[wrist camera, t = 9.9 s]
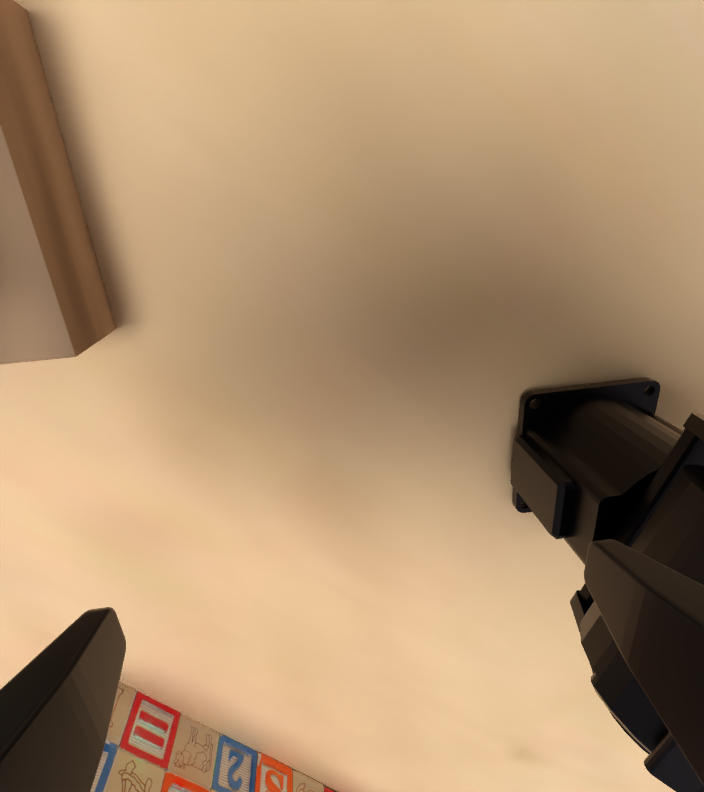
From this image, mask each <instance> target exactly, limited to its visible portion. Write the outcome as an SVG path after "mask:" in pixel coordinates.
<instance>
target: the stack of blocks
mask: <svg viewBox="0 0 704 792" xmlns="http://www.w3.org/2000/svg"><path fill="white" fill-rule="evenodd" d="M90 792H334V791H332V790H330V789H328V788H326V787H324V786H323V784H321V783H319V782H317V781H315V780H313V779H311V778H310V777H308V776H306V775H304V774H302V773H300V772H297V771H295V770H291V768H289V767H288V766H286V765H284V764H282V763H280V762H278V761H276V760H274V759H272V758H270V757H268V756H266V755H264V754H262V753H260V752H259V753H257V752H256V751H255V750H253V749H251V748H249V747H246V746H244V745H242V744H241V743H238V742H236V741H234V740H232V739H230V738H228V737H226V736H225V735H222V734H219V733H218V732H216V731H214V730H212V729H210V728H208V727H206V726H204V725H202V724H200V723H198V722H196V721H194V720H192V719H190V718H188V717H186V716H183V715H181V714H180V713H179V712H178V711H175V710H174V709H172V708H170V707H168V706H166V705H164V704H162V703H160V702H158V701H156V700H154V699H152V698H150V697H148V696H146V695H144V694H142V693H140V692H138V691H136V690H134V689H133V688H131V687H129V686H127V685H125V684H123V683H121V682H119V684H118V689H117V693H116V698H115V702H114V707H113V712H112V716H111V721H110V725H109V730H108V734H107V738H106V742H105V746H104V750H103V753H102V756H101V760H100V763H99V766H98V769H97V773H96V776H95V779H94V782H93V785H92V788H91V791H90Z"/></svg>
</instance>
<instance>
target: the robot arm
mask: <svg viewBox="0 0 704 792" xmlns="http://www.w3.org/2000/svg"><path fill="white" fill-rule="evenodd" d="M647 387H649V388H648V390H647V391H646V392H645V389H646V388H647ZM659 392H660V385H659V383H658V382H656V381H654V380H652V379H650V378H640V379H631V380H622V381H613V382H604V383H595V384H587V385H578V386H569V387H560V388H551V389H542V390H533V391H529V392H527V393H525V394H524V395H523V397H522V398H521V402H520V413H519V426H518V435H517V436H516V438H515V439H514V445H513V457H512V470H511V484H512V486H513V500H512V502H513V505H514V506H515V508H516V509H517V510H518V511H519V512H521V513H526V512H533V513H534V514H535V515H536V517H537V518H538V519H539V521H540V522H541V523H542V524H543V526H544V527H545V528H546V530H547V531H548V532H549V534H550V535H552V536H553V537H554V538H555V539H561V538H564V539H565V541H566V542H567V543H568V544H569V546H570V547H571V548H572V549H573V551H574V552H575V553H576V554H577V556H578V557H579V558H580V559H581V561H582V562H583V563H584V564H585V570H584V579H585V584H584V586H583V587H582V589H581V590H577V591H576V593H575V594H574V596H573V597H572V599H571V600H570V604H571V607H572V610H573V613H574V616H575V619H576V622H577V625H578V628H579V632H580V635H581V643H582V646H583V648H584V650H585V653H586V655H587V657H588V659H589V662H590V665H591V668H592V671H593V675H592V677H591V682H592V684H593V687H594V689H595V691H596V693H597V694H598V695H599V697H600V698H601V700H602V701H603V702H604V704H605V705H606V707H607V708H608V709H609V711H610V713H611V714H612V716H613V717H614V719H615V720H616V721H617V722H618V724H619V725H620V726H621V727H622V729H623V730H624V731H625V732H626V733H627V734H628V735H629V736H630V737H631V738H632V739H633V740H634V741H635V742H636V743H637V744H638V745H639V746H640V747H641V748H642V749H643V750H644V751H645V752H647V753H648V754H649V755H648V756H647V758H646V759H645V760H644V765H645V767H646V769H647V770H648V771H649V772H650V773H651V774H652V775H653V776H654V777H656V778H657V779H659V780H660V781H662V782H663V783H664V784H666V785H667V786H669V787H670V788H672V789H673V790H675V791H676V792H704V416H702V415H699V414H696V413H691V415H690V416H689V418H688V419H687V421H686V422H685V424H684V425H683V426H684V427H685V430H684V431H682V430H680V429H679V428H677V427H675V426H673V425H672V424H670V423H668V422H667V421H665V420H663V419H661V418H660V417H658V416H656V415H655V411H656V406H657V402H658V397H659ZM534 399H536V402H535V404H534V405H531V406H530V402H531V401H532V400H534ZM523 501H525V503H523V504H521V503H522V502H523ZM125 651H126V640H125V636H124V634H123V631H122V628H121V626H120V623H119V620H118V618H117V615H116V612H115V611H114V609H113V608H110V607H106V608H98V609H91V610H88V611H86V612H85V613H84V614H82V615H81V616H80V617H79V618H78V619H77V620H76V621H75V622H74V623H73V624H71V625H70V626H69V627H68V628H67V629H66V630H65V631H64V632H63V633H62V634H61V635H59V636H58V637H57V638H56V639H55V640H54V641H53V642H52V643H51V644H50V645H49V646H47V647H46V648H45V649H44V650H43V651H42V652H41V653H40V654H39V655H38V656H36V657H35V658H34V659H33V660H32V661H31V662H30V663H29V664H28V665H27V666H26V667H24V668H23V669H22V670H21V671H20V672H19V673H18V674H17V675H16V676H15V677H14V678H12V679H11V680H10V681H9V682H8V683H7V684H6V685H5V686H4V687H3V688H2V689H0V792H90V791H91V788H92V785H93V782H94V779H95V776H96V773H97V769H98V766H99V763H100V760H101V756H102V753H103V750H104V746H105V742H106V738H107V734H108V730H109V725H110V721H111V716H112V712H113V707H114V702H115V698H116V693H117V689H118V684H119V679H120V675H121V670H122V666H123V661H124V657H125Z"/></svg>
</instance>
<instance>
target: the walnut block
mask: <svg viewBox="0 0 704 792" xmlns="http://www.w3.org/2000/svg"><path fill="white" fill-rule="evenodd" d="M115 329H116V326H115V323H114V319H113V316H112V312H111V309H110V305H109V301H108V298H107V294H106V291H105V287H104V284H103V280H102V276H101V273H100V269H99V266H98V262H97V259H96V255H95V251H94V248H93V244H92V241H91V237H90V234H89V230H88V227H87V223H86V219H85V216H84V212H83V209H82V205H81V202H80V198H79V194H78V191H77V187H76V184H75V180H74V177H73V173H72V170H71V166H70V162H69V159H68V155H67V152H66V148H65V145H64V141H63V137H62V134H61V130H60V127H59V123H58V120H57V116H56V113H55V109H54V105H53V102H52V98H51V95H50V91H49V88H48V84H47V80H46V77H45V73H44V70H43V66H42V63H41V59H40V55H39V52H38V48H37V45H36V41H35V38H34V34H33V31H32V27H31V23H30V20H29V16H28V13H27V10H26V9H24V8H23V7H21V6H20V5H19V4H17V3H16V2H15V1H13V0H0V364H8V363H18V362H28V361H38V360H48V359H59V358H69V357H76V356H78V355H79V354H81V353H82V352H83V351H85V350H86V349H88V348H89V347H91V346H92V345H94V344H95V343H96V342H98V341H99V340H101V339H102V338H104V337H105V336H107V335H108V334H109V333H111V332H112V331H114V330H115Z"/></svg>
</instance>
